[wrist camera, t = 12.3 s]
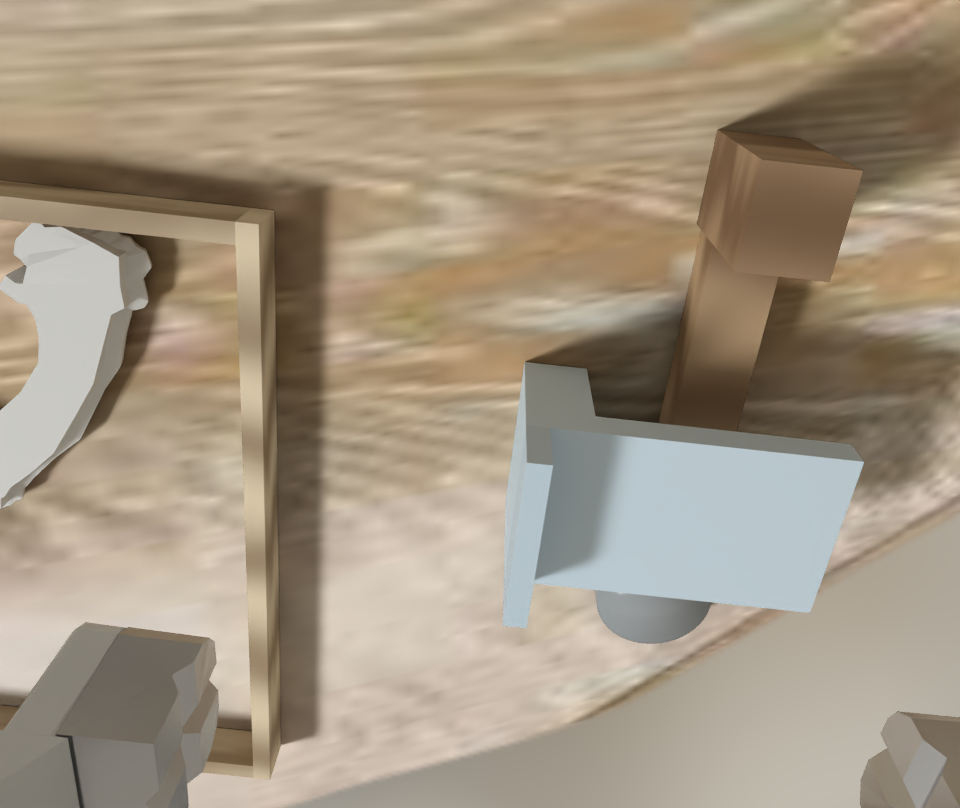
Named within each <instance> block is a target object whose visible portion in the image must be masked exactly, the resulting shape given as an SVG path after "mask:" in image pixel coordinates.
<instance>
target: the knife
mask: <svg viewBox="0 0 960 808" xmlns="http://www.w3.org/2000/svg"><path fill="white" fill-rule="evenodd" d="M14 255H15V256H17V257H18V258H19V259H20V260H21V261H22V262H23V263H24V264H25V265H24V266H22V267H20V268H18V269H17V270H15V271H13V272H11V273H9V274H8V275H6V276H5V277H4V279H3V281H2V282H1V284H0V290H1V291H3V292H4V293H6V294H7V295H8V296H10V297H11V298H12V299H14V300H15V301H16V302H18V303H21V304H27V306H28V308H29V309H30V311H31V313H32V314H33V316H34V318H35V320H36V326H37V331H38V337H39V356H38V364H37V366H36V368H35V369H34V371H33V373H32V374H31V376H30V378H29V379H28V381H27V383H26V384H25V386H24V388H23V389H22V391H21V392H20V393H19V394H18V395H17V396H16V397H15V398H14V399H13V400H11V401H10V402H9V403H8V404H7V405H6V406H5V407H3V408H2V409H1V410H0V509H1V508H3V507H6V506H9V505H12V504H13V503H14V501H15V500H19V499H23V496H24V494H25V487H26V486H28V484H29V483H30V482H31V481H32V480H33V478H34V477H35V476H36V475H38V474H39V473H40V472H41V471H42V470H43V469H44V468H45V467H46V466H47V465H48V464H49V463H50V462H51V461H52V460H54V459H55V458H56V457H57V456H59V455H60V454H61V453H63V452H64V451H65V450H67V449H68V448H69V447H71V446H72V445H73V444H75V443H76V442H77V441H79V440H80V439H81V437H82V435H83V433H84V431H85V429H86V427H87V425H88V423H89V421H90V419H91V417H92V415H93V413H94V411H95V409H96V407H97V405H98V403H99V401H100V399H101V397H102V395H103V393H104V390H105V389H106V387H107V386H108V384H109V383H110V381H111V380H112V379H113V377H114V376H115V374H116V373H117V371H118V370H119V368H120V367H121V364H122V362H123V357H124V350H125V344H126V337H127V331H128V327H129V323H130V320H131V316H132V312H133V311H134V310H138V309H142V308H144V307H145V306H146V304H147V303H148V293H147V289H146V285H145V281H144V277H145V276H146V274H147V273H148V272H149V270H150V269H151V267H152V263H151V260H150V257H149V255H148V252H147V249H145V248H143V247H141V246H139V245H138V244H137V243H136V242H135V241H134V240H133V239H132V238H131V236H129V235H124V234H122V233H120V232H112V231H103V230H94V229H85V228H75V227H66V226H57V225H48V224H39V223H31V224H30V225H29V226H28V227H27V228H26V229H25V230H24V231H23V232H22V233H21V234H20V235H19V236H18V237H17V238H16V239H15V247H14Z"/></svg>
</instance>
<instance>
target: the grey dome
mask: <svg viewBox="0 0 960 808" xmlns="http://www.w3.org/2000/svg"><path fill="white" fill-rule="evenodd" d="M595 594H596V602H597V609H598V612H599V615H600V617H601V619H602V621H603V622H604V624H605V625H606V626H607V627H608V628H609V629H610V630H611V631H612V632H614V633H615V634H617V635H618V636H620V637H622V638H625V639H627V640H630V641H633V642H638V643H646V644H655V643H664V642H668V641H672V640H675V639H678V638H680V637H682V636H684V635H686V634H688V633H689V632H691V631H692V630H694V629H695V628H696V627H697V626H698V625H699V624H700V623H701V622H702V621H703V619H704V618H705V616H706V615H707V613H708V611H709V608H710V604H711V602H704V601H694V600H685V599H676V598H666V597H657V596H647V595H638V594H629V593H619V592H610V591H600V590H595Z"/></svg>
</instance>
